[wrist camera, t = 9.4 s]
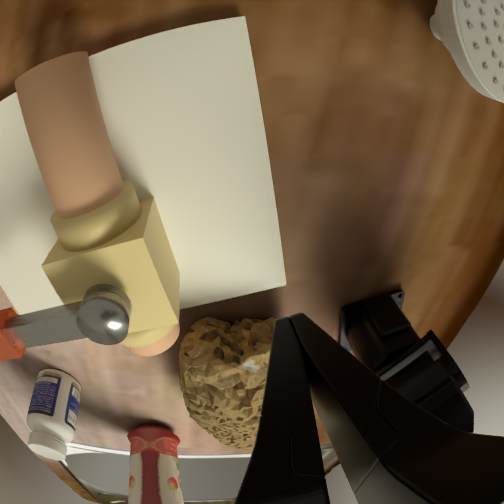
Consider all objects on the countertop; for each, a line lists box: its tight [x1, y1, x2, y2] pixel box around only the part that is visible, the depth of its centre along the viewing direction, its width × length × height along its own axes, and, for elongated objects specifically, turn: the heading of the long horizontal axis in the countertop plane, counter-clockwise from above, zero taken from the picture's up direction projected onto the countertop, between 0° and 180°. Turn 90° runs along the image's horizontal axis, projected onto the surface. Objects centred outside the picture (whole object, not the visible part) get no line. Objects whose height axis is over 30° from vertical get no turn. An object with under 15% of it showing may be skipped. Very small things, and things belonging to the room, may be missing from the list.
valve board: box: [0, 16, 286, 356], centre depth 16 cm, size 18×22×6 cm
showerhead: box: [429, 0, 504, 103], centre depth 11 cm, size 9×7×10 cm
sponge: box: [179, 316, 276, 450], centre depth 27 cm, size 13×8×20 cm
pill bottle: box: [27, 369, 81, 460], centre depth 23 cm, size 5×5×9 cm
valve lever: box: [0, 284, 132, 360], centre depth 14 cm, size 13×3×2 cm, turn 100°
